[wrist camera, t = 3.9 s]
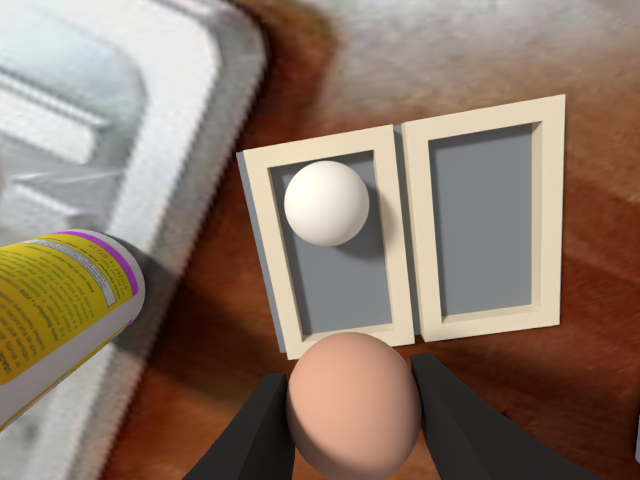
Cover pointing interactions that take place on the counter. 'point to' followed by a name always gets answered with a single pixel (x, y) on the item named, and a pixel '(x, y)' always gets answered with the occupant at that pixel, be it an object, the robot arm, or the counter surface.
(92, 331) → the supplement bottle
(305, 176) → the ball cream
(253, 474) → the robot arm
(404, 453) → the ball terracotta
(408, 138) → the tray
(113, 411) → the counter surface
